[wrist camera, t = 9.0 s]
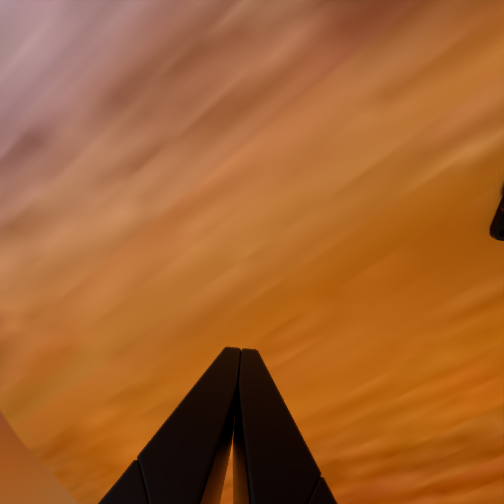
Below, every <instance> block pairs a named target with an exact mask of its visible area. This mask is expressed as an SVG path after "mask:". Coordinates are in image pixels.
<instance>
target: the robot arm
mask: <svg viewBox="0 0 504 504" xmlns="http://www.w3.org/2000/svg"><path fill="white" fill-rule="evenodd" d="M502 229H503V230H502ZM500 230H502V232H501V233H500V234H499V232H500ZM490 236H491V237H492V238H494V239H497V240H500V241H504V198H503V200H502V202H501V205H500V207H499V210H498V212H497V215H496V217H495V220H494V222H493V224H492V227H491V229H490ZM240 356H241V357H240ZM234 420H235V421H234ZM233 430H234V433H233ZM232 439H233V504H338V503H337V502H336V500H335V498H334V496H333V494H332V492H331V490H330V488H329V486H328V484H327V483H326V481H325V479H324V477H321V471H320V469H319V468H318V466H317V464H316V462H315V460H314V458H313V456H312V454H311V452H310V450H309V448H308V446H307V444H306V442H305V441H304V439H303V437H302V435H301V433H300V431H299V429H298V427H297V425H296V423H295V421H294V419H293V417H292V416H291V414H290V412H289V410H288V408H287V406H286V404H285V402H284V400H283V398H282V396H281V394H280V392H279V390H278V389H277V387H276V385H275V383H274V381H273V379H272V377H271V375H270V373H269V371H268V369H267V367H266V365H265V364H264V362H263V360H262V358H261V356H260V354H259V352H258V351H257V350H256V349H246V348H243V349H242V350H241V349H240V348H236V347H225V348H224V349H223V350H222V351H221V353H220V354H219V355H218V356H217V358H216V359H215V360H214V361H213V363H212V364H211V365H210V366H209V368H208V369H207V370H206V371H205V373H204V374H203V375H202V376H201V378H200V379H199V380H198V381H197V383H196V384H195V385H194V386H193V388H192V389H191V390H190V391H189V393H188V394H187V395H186V396H185V398H184V399H183V400H182V401H181V402H180V404H179V405H178V406H177V407H176V409H175V410H174V411H173V412H172V414H171V415H170V416H169V417H168V419H167V420H166V421H165V422H164V424H163V425H162V426H161V427H160V429H159V430H158V431H157V432H156V434H155V435H154V436H153V437H152V439H151V440H150V441H149V442H148V444H147V445H146V446H145V447H144V448H143V450H142V451H141V452H140V453H139V455H138V456H137V460H134V461H133V462H132V463H131V464H130V466H129V467H128V468H127V469H126V471H125V472H124V473H123V474H122V476H121V477H120V478H119V479H118V481H117V482H116V483H115V484H114V485H113V486H112V488H111V489H110V490H109V491H108V492H107V494H106V495H105V496H104V497H103V498H102V499H101V501H100V502H99V503H98V504H220V499H221V494H222V490H223V485H224V480H225V475H226V470H227V466H228V461H229V456H230V451H231V445H232Z"/></svg>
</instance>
